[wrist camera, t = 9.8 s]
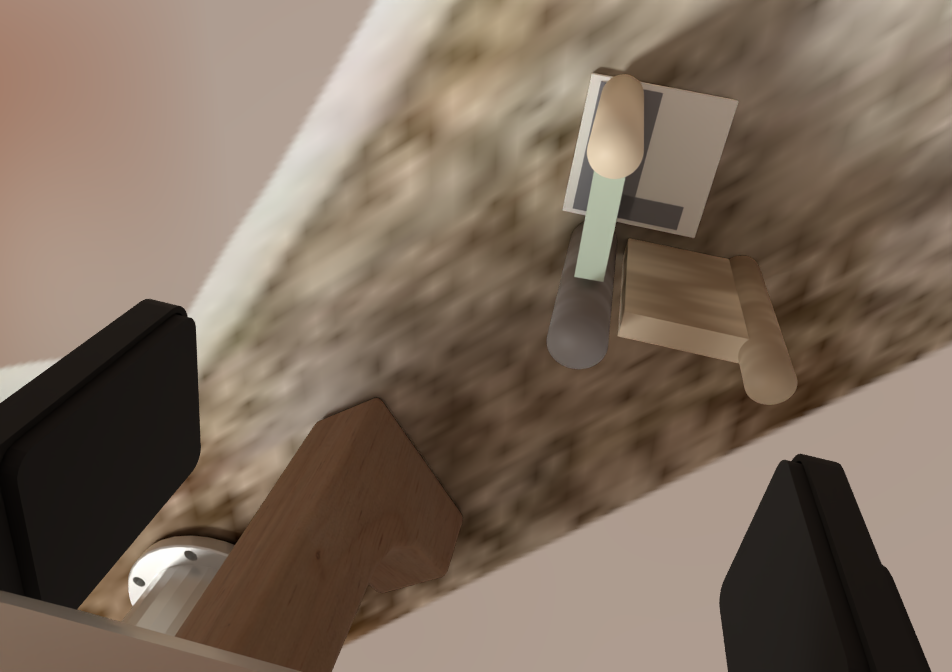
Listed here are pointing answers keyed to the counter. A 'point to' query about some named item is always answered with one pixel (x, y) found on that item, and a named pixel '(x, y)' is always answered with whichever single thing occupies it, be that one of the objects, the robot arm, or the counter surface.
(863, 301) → the counter surface
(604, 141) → the fence swing section
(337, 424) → the wooden block
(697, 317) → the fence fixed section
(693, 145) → the card
